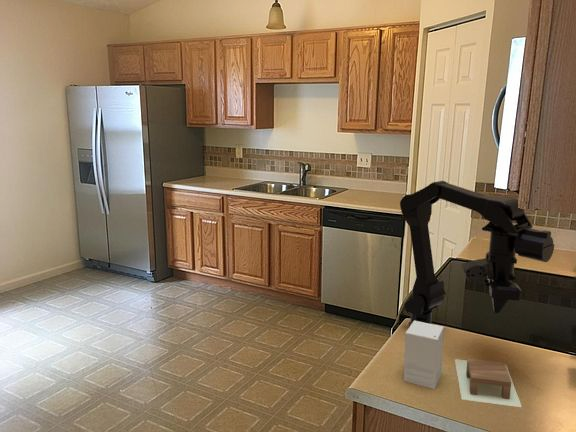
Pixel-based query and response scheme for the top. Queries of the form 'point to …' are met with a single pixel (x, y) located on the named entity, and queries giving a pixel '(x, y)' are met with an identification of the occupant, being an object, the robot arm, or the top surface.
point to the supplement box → (423, 354)
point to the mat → (484, 389)
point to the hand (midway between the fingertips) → (496, 312)
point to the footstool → (488, 375)
